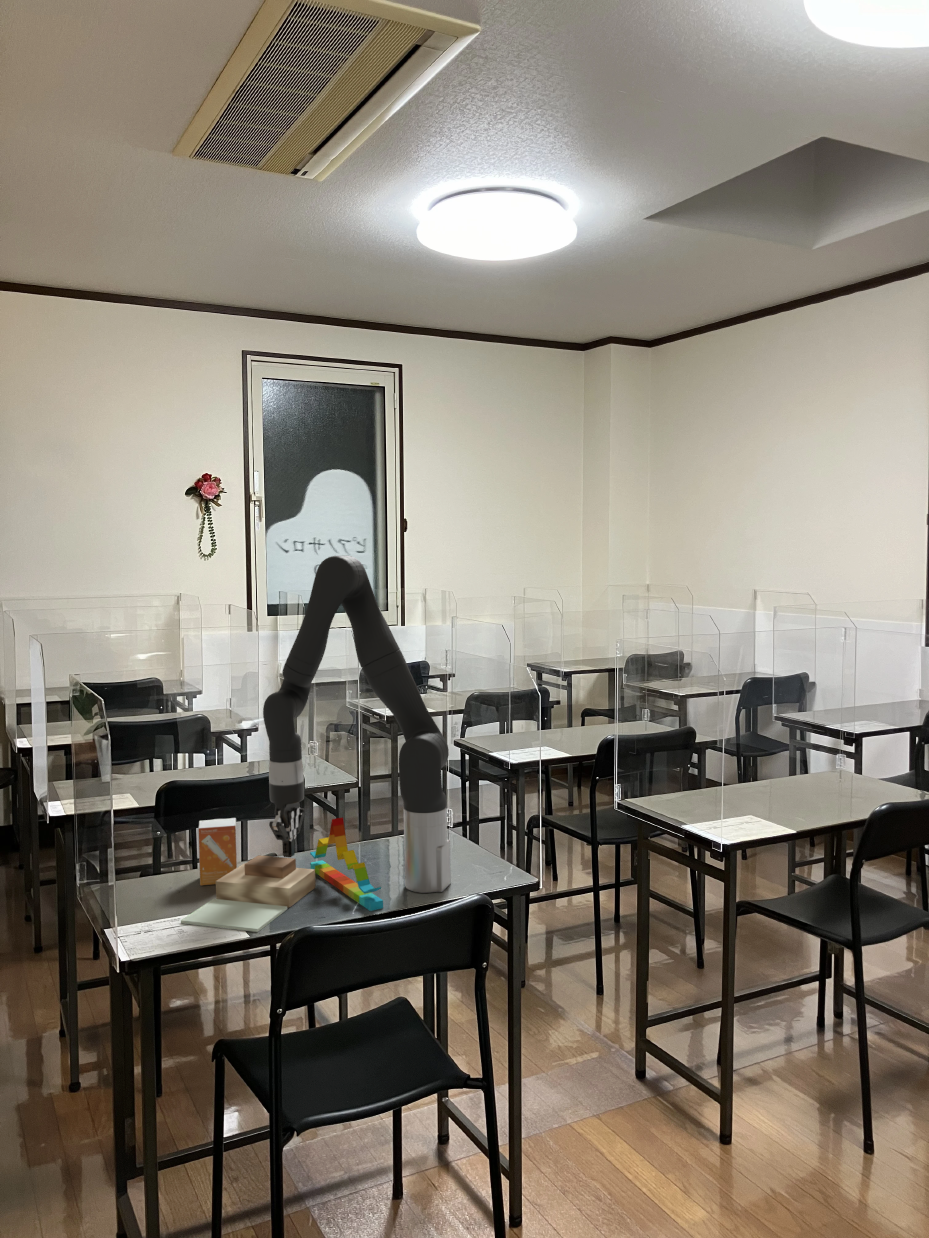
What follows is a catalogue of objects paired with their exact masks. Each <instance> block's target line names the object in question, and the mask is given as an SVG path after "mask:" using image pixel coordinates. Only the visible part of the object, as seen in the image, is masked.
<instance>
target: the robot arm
mask: <svg viewBox="0 0 929 1238" xmlns="http://www.w3.org/2000/svg"><path fill="white" fill-rule="evenodd" d="M306 606H307V607H306V609H305V613H304V616H303V619H302V622H301V625H300V627H299V629H298V630H299V631H298V632H297V635H296V637H295V640H294V642H293V644H292V647H291V649H290V652H289V653H288V656H287V658H286V661H285V662H284V665H283V667H282V671H281V672H282V676H283V680H282V683H281V684H280V685H281V686H280V688H279V689H278V691H275V692H273V693H271V694H270V695H268V696H267V698H266V699H265V701H264V703H263V707H262V708H263V709H262V716H263V723H264V726H265V730H266V735H267V738H268V742H269V745H268V748H269V749H268V750H269V752H268V753H269V755H268V756H269V766H268V780H269V781H268V785H269V787H268V788H269V801H270V802H271V803H273V804H274V805H275V809H274V816H275V818H274V820H273V821H269V823H268V824H269V825H268V826H269V829H270V831H271V832H272V834H273V835H274V838H275V839H276V840H277V841H281V843H282V857H284V858H293V856H295V854H296V853H295V849H296V847H295V839H296V838H297V835H299V834H300V833H301V832H300V831H301V828H302V824H303V821H304V817H305V813H306V809H305V808H304V807H303V808H301V807H300V806H301V805H300V802H302V801H304V799H305V785H304V784H305V782H304V780H305V779H304V764H303V757H302V755H303V754H302V751H303V750H302V738H301V736H300V734H299V733H298V732H296V730H295V729H296V728H295V722H294V721H295V719H297V718H298V717H300V715H301V714H302V713H303V711H304V709H305V707H306V705H307V703H308V699H309V696H310V692H311V689H312V688H311V687H312V683H313V680H314V679H315V676H316V674H317V672H318V670H319V669H320V668H319V667H320V665H321V663H322V660H323V657H324V656H325V652H326V649H327V643H328V640H329V639H328V638H329V634H330V629H331V626H332V623H333V620H334V618H335V615H336V613H337V611H338V610H339V608H340V606H341V607H342V608H343V609H344V612H345V614H346V616H347V618H348V620H349V623H350V626H351V630H352V634H353V642H354V648H355V653H356V656H357V660H358V663H359V666H360V668H361V670H362V672H363V674H364V677H365V678H366V681H367V683H368V685H369V686H370V688H371V689H372V691H373V693H374V694H375V695H376V697H378V699H379V700H380V701H381V702H382V703H383V705H384V706H385V707H386V708H387V709H388V710H389V711H390V712H391V714H392V715H393V717H394V718H395V720H396V722H397V724H398V726H399V729H400V730H401V732H402V735H403V738H404V740H405V741H404V743H403V744H402V745H401V748H400V751H399V755H398V774H399V775H398V777H399V778H398V779H399V790H400V797H401V799H402V803H403V807H402V808H403V842H404V843H403V847H404V851H403V852H404V886H405V889H407V890H409V891H411V892H415V893H420V894H421V893H427V894H428V893H435V892H436V893H437V892H439V893H441V892H442V893H443V892H444V891H445V890H446V888H448V886H450V884H451V883H452V872H451V871H452V868H451V865H452V864H451V861H452V859H451V858H452V857H451V840H450V839H448V822H447V821H448V819H447V816H448V815H447V795H446V793H445V792H444V790H443V784H442V782H443V781H442V779H443V778H442V768H443V767H445V765H446V764H447V762H448V759H449V755H450V754H449V753H450V752H449V745H448V742H447V740H446V738H445V736H444V735H443V733H442V731H441V729H440V727H438V725H437V724H436V722H435V720H434V718H433V717H432V715H431V713H430V711H429V710H428V708H427V705H426V704H425V702H424V700H423V697H422V695H421V693H420V691H419V688H418V686H417V684H416V683H417V682H415V680H414V679H415V678H414V677H413V675H412V673H411V671H410V668H409V666H408V663H407V661H406V658H405V657H404V656H405V655H404V654H403V653H402V651H401V648H400V646H399V644H398V642H397V641H396V639H395V637H394V635H393V632H392V631H391V629H390V626H389V624H388V622H387V620H386V619H385V617H384V615H383V612H382V611H381V609H380V607H379V604H378V602H377V599H376V595H375V593H374V590H373V588H372V585H371V582H370V579H369V576H368V574H367V571H366V569H365V567H364V565H363V564H362V562H361V561H360V560H359V559H357V558H356V557H354V556H352V555H351V556H350V555H343V554H342V555H341V554H340V555H332V556H328V557H327V558H325V559H323V560H322V561H321V563H319V565H318V567H317V569H316V573H315V577H314V580H313V583H312V587H311V591H310V597H309V599H308V603H307V605H306Z"/></svg>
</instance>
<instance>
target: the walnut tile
mask: <svg viewBox="0 0 929 1238" xmlns="http://www.w3.org/2000/svg"><path fill="white" fill-rule="evenodd" d="M296 860H297V858H295V857H294V858H293V857H284V856H282V857H281V856H271V855H256V856H255V857H253V858H252V859H250V860H249V861H247V862H244V863H245V864H244V863H243V864H244V867H245V875H250V876H260V877H271V878H281V879H283V878H284V877H286V876H287V875H289V874H290V873H292V872H293V871H294V870H296V868H297V863H296V862H297V861H296Z"/></svg>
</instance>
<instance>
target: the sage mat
mask: <svg viewBox="0 0 929 1238" xmlns="http://www.w3.org/2000/svg"><path fill="white" fill-rule="evenodd" d="M287 910H288V907H287V906H278V905H268V904H259V903H249V902H240V901H230V900H221V899H216V898H212V899H211V900H210V901H208V902H206V903H204V904H203V905H202V906H201V907H198V909H195V910H194V911H193V912H192V913H190V914H188V915H187V916H185V917H183V918H182V919H181V920H180V923H181V924H186V925H194V926H200V927H202V926H203V927H211V928H219V929H220V928H221V929H229V930H236V931H237V930H238V931H246V932H253V933H258V932H260V931H261V930H263V929H264V928H265V927H266V926H268V925H269V924H270V923H271V922H273V921H274V920H275V919H277V918H278V917H279V916H281V915H282V914H283V913H285V912H286V911H287Z"/></svg>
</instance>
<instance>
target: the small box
mask: <svg viewBox="0 0 929 1238" xmlns="http://www.w3.org/2000/svg"><path fill="white" fill-rule="evenodd" d="M237 844H238V843H237V818H236V817H231V818H214V819H207V820H206V819H205V820H199V821H198V859H199V861H198V864H199V885H200V886H209V885H216V881H217V880H218V879H220V878H222V877H223V876H225V875H226V874H228V873H230V872H231V871H233V870H234V869H236V868H238V852H237V851H238V850H237V849H238V847H237V846H238V845H237Z"/></svg>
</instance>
